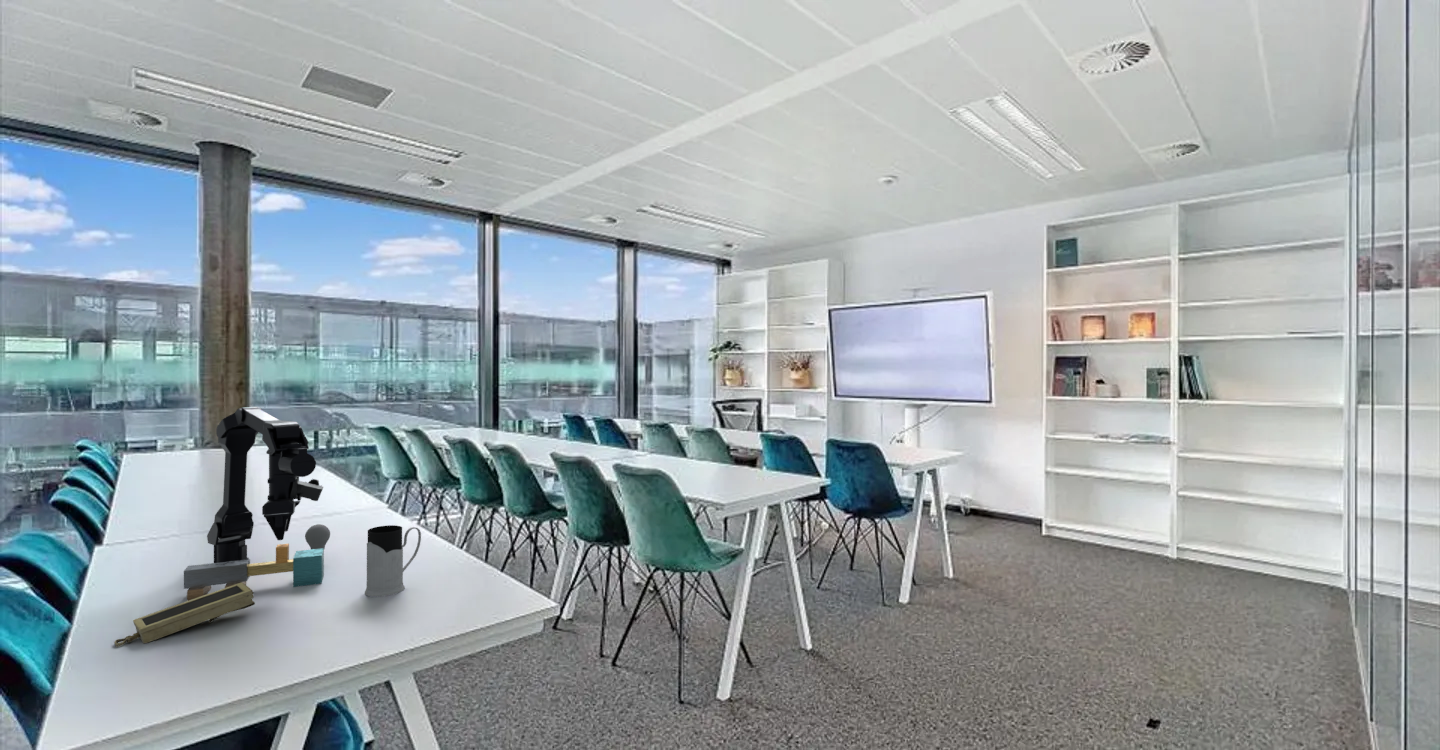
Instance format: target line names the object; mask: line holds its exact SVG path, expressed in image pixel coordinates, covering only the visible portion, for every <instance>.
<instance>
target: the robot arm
mask: <svg viewBox="0 0 1440 750" xmlns="http://www.w3.org/2000/svg"><path fill="white" fill-rule="evenodd" d="M258 434H261V435H262V438H261V440H262V441H263V442H264V443H265V445H266V447H267V448H268V449H267V450H266V451H265V452H266V454H267V455H268V478H267V484H268V495H267V501H266V502H265V503H264V504H263V505H262V507H261V510H262V513H261V514H262V515H263V517H264V519H265V520H266V521H267V523H268V525H269V527H270V529H271V530H272V532H273V534H274V536H275V538H276V539H277V541H282V540H284V537H285V533H286V532H288V531H289V527H290V524H291V519H292V515H294V514H295V513H296V507H297V506H299V505H300V503H301V500H302V498H304V499H308V500H310V501H313V502H318V501H319V499H320V497H321V494H322V492H323V489H324V486H323V485H320V481H319V479H316V478H312V479H310V480H309V481H301V480H300V477H301V478H305V477H307V476H310V475H311V474H312V473H313V472H314V471H315V469H316V467H317V460H316V459H315V457H314V456H313V455H311V454H310V453H308V450H309V449H310V448H309V445H308V444H309V441H308V438H307V437H306V435H305V433H304V431H303V428H302V426H300V424H299V423H298V422H297V421H293V420H282V419H278V418H276V417H274V416H273V415H271V414H269V413H267V412H266V411H264V410H263V409H262V408H261V407H259V406H248V407H245V406H244V407H240V408H237V409H236V411H234V412H233V413H231V414H230V415H228V416H226V417H224V418H222V419H221V421H220V422H219V424H218V425H217V426H216V436H217V441H218V444H219V446H220V447H221V448H222V450H224V452H225V453H224V456H225V457H224V475H223V499H222V505H221V506H220V508H219V509H218V510H217V512H216V513H215V515H214V521H213V523H212V525H211V526H210V529H209V530H208V533H207V534H206V539H207V544H209V545H212V546H213V563H220V562H229V561H239V560H248V559H250V558H249V557H248V545H247V544H246V540H251V539H252V535H253V530H254V525H255V524H254V519H253V516H254V515H253V512H252V511H250V509H248V507H247V506H246V487H247V485H246V484H247V468H248V467H247V462H248V453H249V451H250V450H251V449H252V447H253V446H254V445H255V442H256V438H257V435H258Z"/></svg>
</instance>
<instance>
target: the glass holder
mask: <svg viewBox="0 0 1440 750" xmlns="http://www.w3.org/2000/svg"><path fill="white" fill-rule="evenodd" d="M412 530H417V533H418V538H417V540H418V541H417V544H416V548H415V550H414V553H413V554H412V556H411V558H410V559H409V561H407V563H406V564H405V565H403V564H404V547H406V545H407V541H408V534H409V533H410V532H411V531H412ZM421 534H422V533H421V530H420V529H419V528H418V527H414V526H413V527H410V528H408V529H407V530H406V532H405V534H404V537H403V527H402V526H401V525H396V524H395V525H393V524H392V525H390V524H389V525H381V526H375V527H371V528H369V529H368V530H367V543H366V586H365V587H366V589H365V590H364V595H365V596H366V597H367V596H368V597H372V598H373V597H375V598H377V597H378V598H381V597H387V596H393V595H396V594H400V593H401V592H404V590H405V589H406V588H405V587H406V586H405V585H404V572H405V571H406V570H407V568H408V567H409V565H410V564H411V563H412V562H413V560H415V558H416V556H417V554H418V552H419V549H420V546H421V542H422V535H421Z"/></svg>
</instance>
